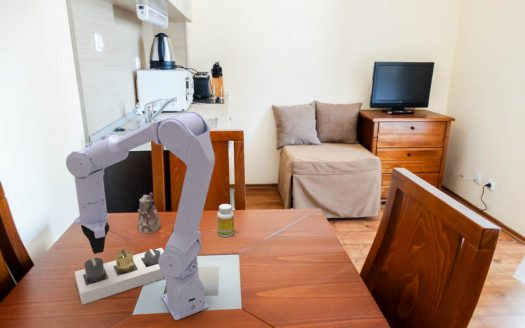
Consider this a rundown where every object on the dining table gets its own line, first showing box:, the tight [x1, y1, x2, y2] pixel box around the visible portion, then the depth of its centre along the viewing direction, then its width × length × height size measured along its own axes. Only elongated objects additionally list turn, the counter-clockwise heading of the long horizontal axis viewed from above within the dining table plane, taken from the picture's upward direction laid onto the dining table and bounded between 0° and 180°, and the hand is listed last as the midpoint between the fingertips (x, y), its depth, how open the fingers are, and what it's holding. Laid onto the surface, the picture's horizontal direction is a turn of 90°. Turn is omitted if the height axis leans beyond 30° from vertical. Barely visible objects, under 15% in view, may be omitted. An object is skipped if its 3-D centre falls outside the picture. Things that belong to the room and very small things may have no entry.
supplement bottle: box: [216, 203, 235, 238], centre depth 113 cm, size 5×5×10 cm
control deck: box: [74, 247, 166, 305], centre depth 90 cm, size 10×22×3 cm, turn 124°
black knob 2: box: [145, 248, 160, 267], centre depth 93 cm, size 4×4×5 cm
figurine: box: [137, 192, 161, 235], centre depth 114 cm, size 7×7×12 cm
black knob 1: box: [84, 256, 105, 285], centre depth 85 cm, size 4×4×5 cm
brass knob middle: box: [114, 248, 134, 275], centre depth 89 cm, size 4×4×5 cm
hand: (98, 251), depth 84 cm, fingers closed
